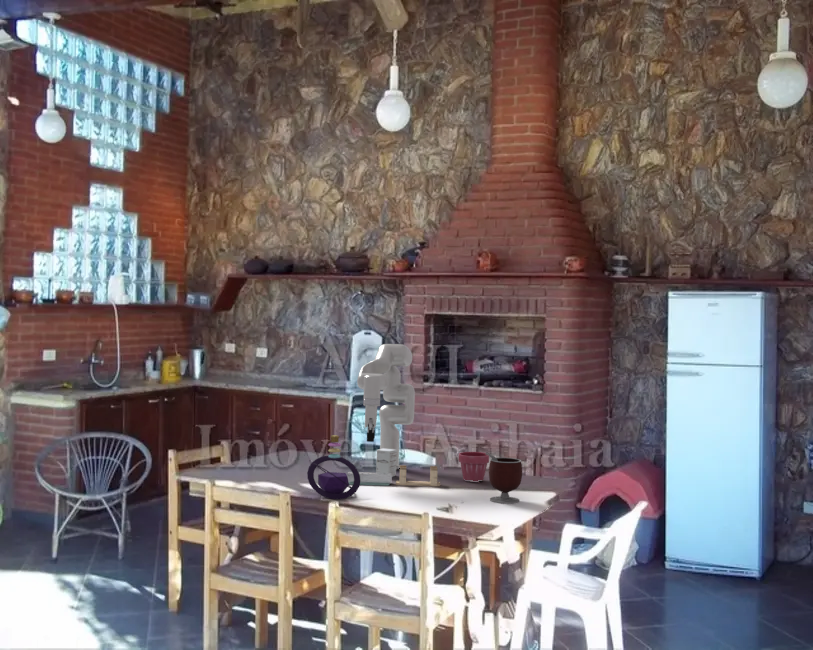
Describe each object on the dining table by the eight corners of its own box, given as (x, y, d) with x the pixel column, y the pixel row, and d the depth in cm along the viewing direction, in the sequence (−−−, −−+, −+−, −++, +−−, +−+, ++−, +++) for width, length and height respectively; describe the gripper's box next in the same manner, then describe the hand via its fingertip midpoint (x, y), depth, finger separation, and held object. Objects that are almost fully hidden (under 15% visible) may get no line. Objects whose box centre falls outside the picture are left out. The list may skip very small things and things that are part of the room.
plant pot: (458, 483, 404) (459, 455, 404) (457, 477, 418) (458, 451, 418) (489, 484, 404) (490, 456, 404) (487, 478, 418) (488, 452, 418)
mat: (350, 481, 401) (350, 479, 401) (389, 482, 401) (389, 481, 401) (349, 484, 393) (349, 483, 393) (389, 485, 393) (389, 484, 393)
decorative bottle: (305, 499, 358) (307, 438, 358) (307, 489, 379) (309, 431, 379) (360, 500, 359) (362, 439, 359) (359, 490, 380) (361, 432, 380)
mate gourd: (518, 497, 374) (519, 450, 374) (523, 504, 360) (525, 455, 360) (482, 497, 374) (483, 450, 374) (486, 503, 360) (487, 455, 360)
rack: (396, 482, 401) (396, 465, 401) (439, 483, 401) (440, 466, 401) (395, 485, 395) (396, 467, 395) (440, 486, 395) (440, 468, 395)
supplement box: (375, 476, 416) (376, 449, 416) (383, 474, 423) (383, 447, 423) (389, 478, 413) (389, 451, 413) (396, 475, 420) (397, 449, 419)
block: (347, 482, 396) (347, 473, 396) (347, 480, 400) (348, 471, 400) (391, 483, 396) (391, 474, 396) (391, 481, 400) (391, 473, 400)
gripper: (364, 400, 406) (363, 437, 406) (362, 404, 389) (361, 442, 389) (380, 400, 406) (379, 437, 406) (379, 404, 389) (378, 443, 389)
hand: (370, 440), depth 398 cm, fingers open, 9 cm apart
